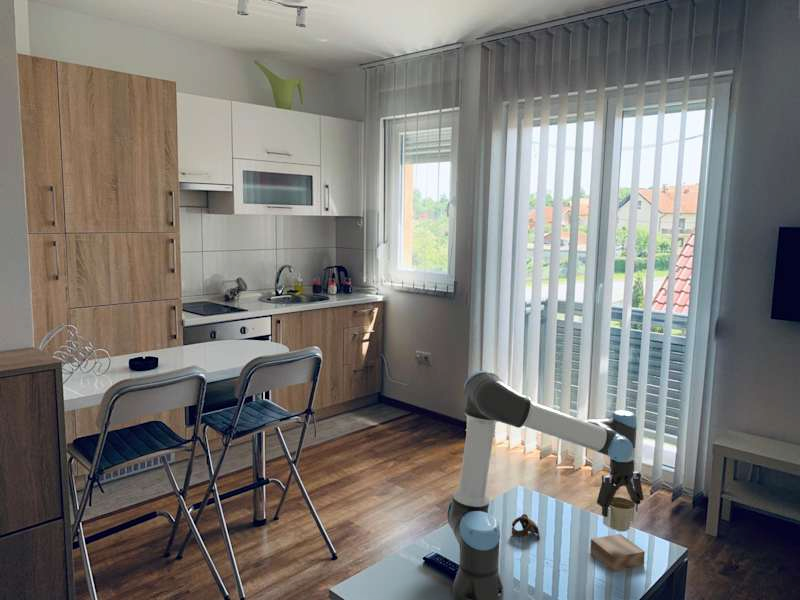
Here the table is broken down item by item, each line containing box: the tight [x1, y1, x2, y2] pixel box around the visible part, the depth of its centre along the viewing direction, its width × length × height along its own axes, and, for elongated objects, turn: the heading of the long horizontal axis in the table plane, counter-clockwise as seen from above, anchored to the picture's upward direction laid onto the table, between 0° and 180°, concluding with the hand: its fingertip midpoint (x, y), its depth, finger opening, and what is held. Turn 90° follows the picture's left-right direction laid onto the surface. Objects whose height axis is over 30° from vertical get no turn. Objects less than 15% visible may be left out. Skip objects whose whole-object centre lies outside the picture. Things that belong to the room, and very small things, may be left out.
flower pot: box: [609, 496, 635, 533], centre depth 197 cm, size 9×9×9 cm
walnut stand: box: [590, 533, 645, 573], centre depth 199 cm, size 12×12×5 cm
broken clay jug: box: [511, 513, 541, 541], centre depth 214 cm, size 12×10×8 cm
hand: (619, 522), depth 197 cm, fingers closed on flower pot, 9 cm apart
